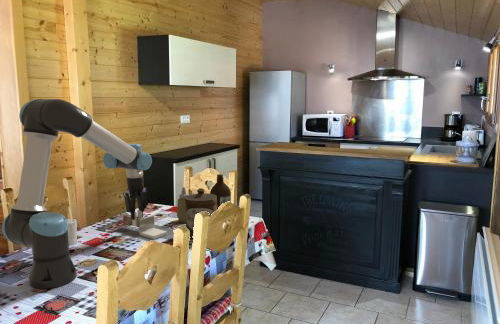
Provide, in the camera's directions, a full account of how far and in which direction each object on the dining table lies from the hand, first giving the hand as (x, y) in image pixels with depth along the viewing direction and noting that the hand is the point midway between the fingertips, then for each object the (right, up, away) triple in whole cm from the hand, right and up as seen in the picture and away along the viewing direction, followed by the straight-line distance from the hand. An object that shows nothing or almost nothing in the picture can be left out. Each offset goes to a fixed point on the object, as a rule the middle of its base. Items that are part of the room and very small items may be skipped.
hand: (137, 224), depth 201 cm
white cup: (-27, -6, -14) cm, 31 cm away
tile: (+5, -3, -3) cm, 7 cm away
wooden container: (+32, -4, -4) cm, 32 cm away
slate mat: (+7, -4, -2) cm, 8 cm away
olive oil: (+39, -1, +13) cm, 41 cm away
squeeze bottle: (+20, -1, +17) cm, 26 cm away
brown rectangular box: (-1, 0, +1) cm, 1 cm away
